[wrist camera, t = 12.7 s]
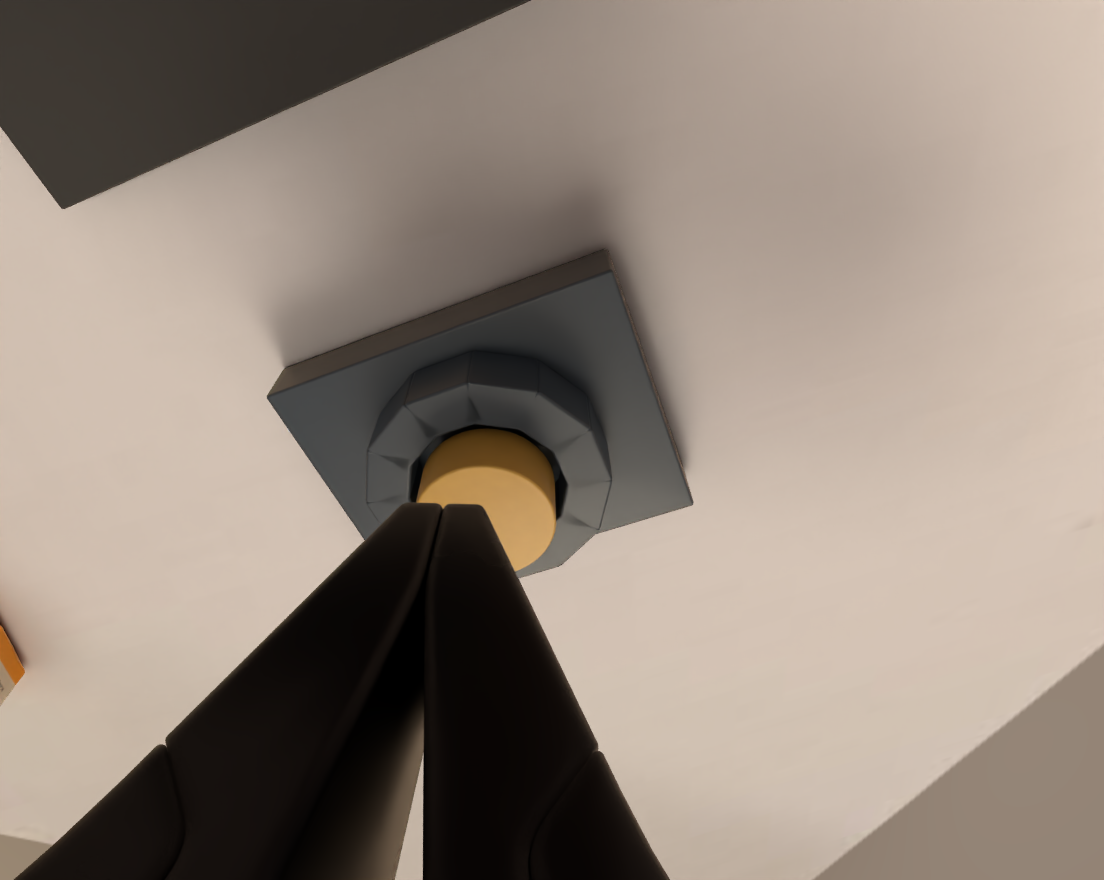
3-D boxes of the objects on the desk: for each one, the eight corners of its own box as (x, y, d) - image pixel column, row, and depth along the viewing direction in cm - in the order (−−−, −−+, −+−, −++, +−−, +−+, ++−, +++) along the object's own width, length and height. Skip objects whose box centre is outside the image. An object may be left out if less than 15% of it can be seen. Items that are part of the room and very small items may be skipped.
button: (456, 548, 21) (450, 591, 20) (399, 452, 19) (387, 492, 18) (573, 512, 20) (576, 554, 19) (525, 409, 18) (524, 447, 17)
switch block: (408, 558, 25) (391, 635, 22) (283, 368, 21) (242, 432, 18) (684, 473, 24) (705, 544, 21) (607, 246, 19) (619, 296, 16)
